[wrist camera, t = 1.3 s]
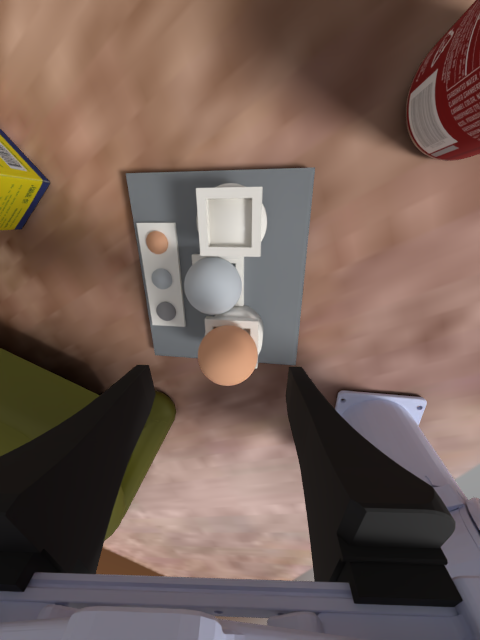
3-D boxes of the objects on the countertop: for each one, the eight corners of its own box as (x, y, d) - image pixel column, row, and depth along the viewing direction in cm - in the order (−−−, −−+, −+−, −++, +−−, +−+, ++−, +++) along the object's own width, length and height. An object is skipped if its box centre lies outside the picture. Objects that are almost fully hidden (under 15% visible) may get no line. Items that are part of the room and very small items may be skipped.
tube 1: (266, 255, 19) (264, 261, 17) (207, 254, 20) (196, 260, 17) (268, 186, 18) (267, 181, 15) (204, 188, 18) (190, 182, 15)
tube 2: (262, 352, 23) (260, 372, 20) (213, 349, 24) (204, 367, 21) (264, 304, 21) (262, 318, 18) (210, 302, 22) (200, 315, 19)
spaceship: (-68, 272, 27) (-244, 301, 18) (186, 396, 28) (144, 479, 19) (-53, 456, 41) (-145, 524, 32) (116, 531, 43) (73, 615, 34)
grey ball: (245, 305, 21) (237, 325, 17) (196, 302, 22) (178, 322, 18) (245, 253, 20) (237, 262, 16) (192, 252, 20) (171, 261, 16)
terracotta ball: (259, 365, 21) (254, 401, 17) (208, 362, 21) (192, 395, 17) (260, 317, 19) (255, 344, 15) (205, 314, 19) (186, 340, 15)
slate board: (294, 359, 24) (295, 368, 22) (159, 350, 26) (152, 358, 24) (313, 170, 18) (316, 166, 16) (132, 175, 19) (121, 172, 18)
